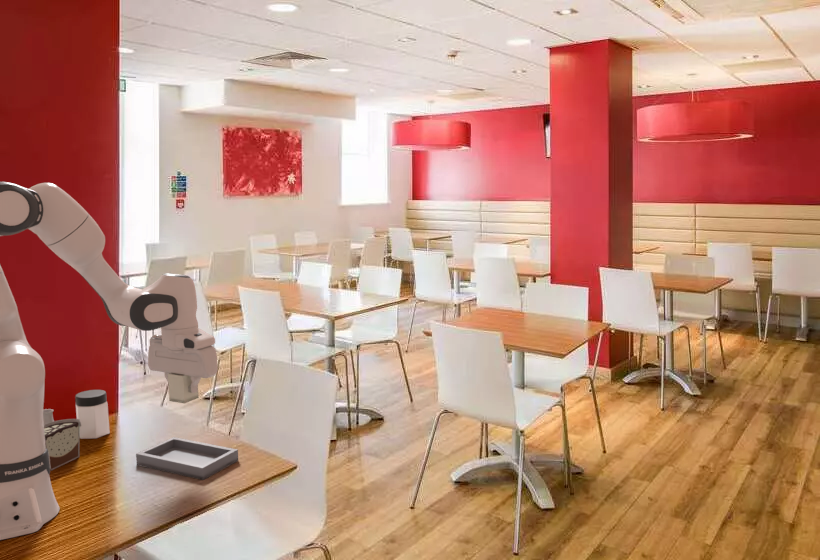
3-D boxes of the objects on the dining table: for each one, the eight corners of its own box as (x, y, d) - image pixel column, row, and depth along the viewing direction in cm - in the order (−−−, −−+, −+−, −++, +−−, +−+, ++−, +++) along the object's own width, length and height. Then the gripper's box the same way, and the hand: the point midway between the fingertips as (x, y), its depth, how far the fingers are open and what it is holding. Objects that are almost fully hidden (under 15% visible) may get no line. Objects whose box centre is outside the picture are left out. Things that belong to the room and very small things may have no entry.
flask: (51, 451, 187) (48, 415, 186) (28, 449, 189) (25, 414, 187) (69, 441, 194) (67, 407, 193) (47, 440, 196) (44, 405, 194)
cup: (184, 403, 173) (182, 374, 172) (169, 400, 175) (167, 372, 174) (198, 397, 177) (197, 369, 176) (183, 395, 180) (182, 367, 178)
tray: (203, 480, 168) (202, 468, 167) (136, 464, 177) (136, 453, 177) (238, 460, 179) (237, 449, 179) (174, 447, 189) (173, 436, 189)
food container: (65, 452, 187) (62, 416, 185) (83, 454, 185) (80, 418, 183) (26, 469, 175) (23, 431, 174) (45, 473, 173) (42, 434, 172)
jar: (97, 426, 206) (94, 387, 204) (116, 431, 202) (113, 391, 201) (70, 436, 198) (67, 396, 196) (89, 441, 194) (86, 399, 193)
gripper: (140, 336, 176) (143, 389, 178) (202, 343, 167) (205, 399, 169) (159, 331, 181) (162, 382, 183) (220, 338, 172) (222, 392, 174)
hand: (183, 390), depth 176 cm, fingers closed on cup, 5 cm apart
